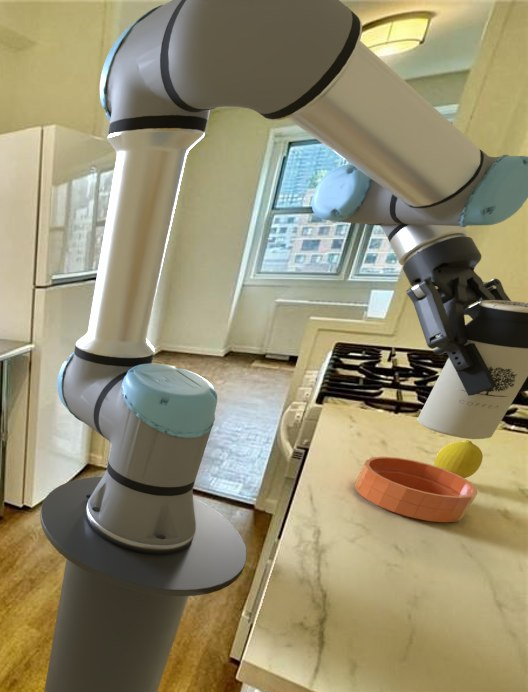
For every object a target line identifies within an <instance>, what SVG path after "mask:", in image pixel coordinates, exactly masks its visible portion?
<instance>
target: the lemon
mask: <svg viewBox="0 0 528 692" xmlns="http://www.w3.org/2000/svg"><path fill="white" fill-rule="evenodd" d="M483 456H484V455H483V451H482V450H481V448H480V447H479V446H478V445H476V444H475V443H473V441H472V440H470V439H466V440H459V441H453V442H450V443H447V444H446V445H444V446H443V447H442V448H441V449H440V450H439V451H438V452H437V454H436V456H435V458H434V462H433V466H436V467H439V468H442V469H445V470H447V471H450V472H452V473H454V474H457V475H459V476H461V477H463V478H464V479H466V478H469V477H472V476H473V475H474V474H475V473H476V472H477V471H478V470H479V468H480V467H481V466H482V462H483Z"/></svg>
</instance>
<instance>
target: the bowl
mask: <svg viewBox="0 0 528 692" xmlns="http://www.w3.org/2000/svg"><path fill="white" fill-rule="evenodd" d="M354 488H355V490H356V492H357V493H358V494H359V495H361V496H362V497H363V498H364V499H366V500H367V501H369V502H371V503H373V504H374V505H376V506H377V507H380V508H382V509H384V510H387V511H390V512H392V513H395V514H398V515H401V516H404V517H407V518H412V519H416V520H421V521H427V522H437V523H452V522H453V523H454V522H458V521H460V520H462V519H464V517H465V515H466V514H467V512H468V510H469V509H470V508H471V505H472V504H473V502H474V501H475V499H476V497H477V496H478V494H479V493H478V488H477V487H476V485H474V484H473V482H471V481H469V480H468V479H466V478H463V477H461V476H459V475H457V474H454V473H452V472H450V471H447V470H445V469H442V468H439V467H436V466H434V464H429V463H426V462H421V461H418V460H414V459H409V458H402V457H394V456H374V457H370V458H368V459H366V460H365V461H364V464H363V466H362V468H361V470H360V472H359V475H358V477H357V479H356V480H355V483H354Z"/></svg>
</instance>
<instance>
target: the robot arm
mask: <svg viewBox="0 0 528 692" xmlns="http://www.w3.org/2000/svg"><path fill="white" fill-rule="evenodd" d="M362 34H363V23H362V21H361V19H360V17H359V16H358V15H357V14H356V13H354V11H353V10H351V8H350V7H348V6H347V5H345V4H344V3H343V2H342V1H341V0H169V1H167V2H166V3H164V4H160V5H158V6H156V7H154V8H152V9H150V10H148V11H147V12H145V13H144V14H142V15H141V16H140V17H138V19H136V21H134V22H133V23H132V24H130V25H129V26H128V27H126V29H125V30H124V31H123V32H122V33H121V34H120V35H119V36H118V37H117V39H116V40H115V42H114V43H113V45H112V46H111V48H110V50H109V52H108V54H107V56H106V58H105V61H104V63H103V67H102V69H101V73H100V81H99V98H100V104H101V107H102V108H103V109H104V110H105V116H106V118H107V120H108V121H109V128H108V134H107V141H108V142H109V144H110V145H111V146H112V148H113V149H114V151H115V155H116V158H115V164H114V170H113V176H112V182H111V188H110V194H109V200H108V205H107V213H106V218H105V224H104V230H103V236H102V241H101V242H102V243H101V249H100V255H99V259H98V260H99V261H98V266H97V273H96V279H95V284H94V291H93V297H92V303H91V310H90V316H89V322H88V326H87V332H86V333H85V334H84V335H82V336H81V337H80V338H79V339H77V340H76V342H75V346H74V350H73V352H72V353H71V354H70V355H69V356H68V359H66V360H64V362H63V363H62V365H61V367H60V370H59V371H58V375H57V381H56V385H57V387H56V388H57V389H56V390H57V393H58V394H57V395H58V397H59V399H60V402H61V404H62V405H63V406H64V407H65V409H67V410H68V412H69V413H70V414H71V415H72V416H74V418H75V419H77V420H78V421H79V422H82V423H84V424H85V425H87V427H89V428H90V429H92V430H94V431H95V432H96V433H97V434H99V435H100V436H102V437H103V438H104V439H106V440H107V441H108V442H109V443H110V450H109V455H108V460H107V465H106V470H105V473H104V474H103V476H101V477H102V479H101V481H100V482H99V484H98V485H97V487H96V489H95V490H94V492H92V493H87V494H86V497H87V498H89V500H88V503H87V508H86V514H85V516H86V521H87V523H88V525H89V526H90V527H91V529H92V530H93V531H94V532H95V533H96V534H97V535H99V536H100V537H101V538H103V539H104V540H106V541H108V542H110V543H111V544H114V545H116V546H118V547H120V548H123V549H126V550H129V551H133V552H137V553H141V554H148V555H170V554H175V553H179V552H181V551H183V550H185V549H187V548H188V547H189V546H190V545H191V543H192V541H193V538H194V535H195V531H196V520H195V510H194V501H193V498H194V494H193V491H194V490H193V489H194V486H195V483H196V479H197V476H198V474H199V471H200V468H201V464H202V460H203V457H204V455H205V451H206V448H207V444H208V442H209V439H210V435H211V432H212V429H213V427H214V422H215V420H216V409H217V405H218V393H217V391H216V389H215V387H214V386H213V385H212V383H210V381H208V380H207V379H206V378H205V377H202V376H201V375H199V374H198V373H195V372H193V371H190V370H188V369H185V368H178V367H175V366H174V365H170V364H163V363H153V361H154V360H153V358H154V355H155V348H154V346H153V345H152V344H151V342H150V341H149V340H148V333H149V328H150V324H151V318H152V314H153V309H154V306H155V300H156V297H157V291H158V287H159V284H160V283H159V282H160V278H161V273H162V269H163V264H164V259H165V255H166V250H167V246H168V242H169V237H170V232H171V227H172V224H173V218H174V214H175V209H176V206H177V201H178V195H179V192H180V188H181V187H180V186H181V182H182V178H183V174H184V168H185V164H186V160H187V155H188V154H189V151H190V150H191V149H192V148H193V147H194V146H196V144H198V143H199V142H200V141H201V140H202V139H203V138H204V137H205V134H206V129H207V125H208V121H209V117H210V113H211V110H214V109H217V108H221V107H222V108H224V107H229V108H235V107H236V108H244V109H249V110H251V111H254V112H256V113H258V114H259V115H261V116H262V117H263V118H265V119H266V120H268V121H283V120H286V119H288V120H289V121H291V122H292V123H293V124H295V125H296V126H297V127H299V128H300V129H301V130H303V131H305V132H306V133H307V134H309V135H310V136H312V137H313V138H314V139H316V140H317V141H318V142H319V143H321V144H322V145H324V146H325V147H326V148H328V149H329V150H331V151H332V152H334V153H335V154H337V155H338V156H339V157H340V158H342V159H343V160H345V162H347V163H346V164H342V165H339V166H337V167H335V168H333V169H332V170H330V171H328V172H327V173H326V174H325V175H324V176H323V177H322V178H321V179H320V181H319V182H318V184H316V187H315V190H314V192H313V194H312V198H311V209H312V211H313V214H314V215H315V216H316V217H317V218H319V219H321V220H324V221H330V222H331V223H334V224H335V223H348V224H359V225H368V226H378V227H379V226H380V228H381V229H382V230H383V233H384V235H385V237H386V238H387V240H388V242H389V244H390V246H391V248H392V251H393V253H394V255H395V257H396V259H397V261H398V263H399V265H401V266H402V270H403V272H404V275H405V276H406V278H407V281H408V283H409V284H410V286H411V287H410V288H409V289H407V290H406V295H407V296H408V297H409V299H410V300H411V302H412V303H413V306H414V310H415V312H416V315H417V318H418V322H419V324H420V327H421V330H422V333H423V337H424V339H425V342H426V346H427V347H428V348H429V349H432V351H433V353H434V354H435V355H436V356H441V355H443V354H445V353H446V354H447V357H448V358H450V360H451V362H452V364H453V366H454V368H455V370H456V372H457V374H458V376H459V378H460V380H461V382H462V384H463V386H464V388H465V390H466V392H467V394H468V396H469V395H475V394H478V393H481V392H483V391H486V390H489V389H492V388H495V387H497V385H496V383H495V381H494V379H493V377H492V376H491V374H490V372H489V370H488V368H487V366H486V364H485V362H484V360H483V358H482V356H481V355H480V353H479V351H478V349H477V347H476V346H475V344H474V343H470V344H467V345H464V344H466V343H467V335H466V326H465V325H466V320H465V316H469V317H470V318H471V320H473V319H474V318H475V317H476V316H478V313H479V310H480V305H479V302H481V301H484V300H501V301H512V300H511V298H510V297H509V295H508V294H507V293H506V291H505V289H504V286H503V284H502V282H501V280H500V279H498V278H493V279H491V280H489V281H483V279H482V277H480V276H479V275H478V274H477V273H476V271H475V268H476V266H477V265H478V264H479V263H480V262H481V260H482V254H481V252H480V250H479V248H478V246H477V244H476V243H475V241H474V240H473V238H472V237H470V236H469V232H468V230H467V228H466V227H468V226H471V227H472V226H491V225H492V226H493V225H496V224H497V225H498V224H501V223H502V222H504V221H506V220H508V219H510V218H511V217H513V216H514V215H515V214H516V213H517V212H518V211H520V209H521V208H522V207H523V205H524V204H525V203H526V201H527V200H528V156H527V155H509V154H502V155H500V156H489V155H487V153H486V152H485V151H483V150H482V149H480V148H479V146H478V145H476V143H474V142H473V141H472V140H471V139H469V137H468V136H466V135H465V134H464V132H462V131H461V130H460V129H459V128H458V127H456V126H455V125H454V124H453V123H452V122H451V121H450V120H449V119H448V118H447V117H445V116H444V115H443V114H442V113H441V112H440V111H439V110H438V109H437V108H436V107H434V106H433V104H431V103H430V102H429V101H428V100H427V99H426V98H424V97H423V96H422V95H421V94H420V93H419V92H418V91H416V89H414V88H413V87H412V86H411V85H410V84H409V83H408V82H407V81H406V80H404V78H402V77H401V76H400V75H399V74H398V72H396V71H394V70H393V69H392V68H391V66H389V65H388V64H387V63H386V62H385V61H384V60H382V59H381V58H380V57H379V56H378V55H376V53H375V52H374V51H372V49H370V48H369V47H368V46H367V45H366V44H364V42H363V41H361V38H362ZM525 392H528V377H527V378H526V380H525V382H524V383H523V385H522V387H521V388H520V390H519V392H518V393H519V394H521V393H525ZM518 393H517V394H518Z"/></svg>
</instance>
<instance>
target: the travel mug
mask: <svg viewBox="0 0 528 692" xmlns="http://www.w3.org/2000/svg"><path fill="white" fill-rule="evenodd" d="M479 305H480V310H479V313H478V316H476V317H475V318H474V319H471V320H470V321H468V322H467V323H465V326H466V335H467V343H466V344H464V345H467V344H470V343H474V344H475V346H476V347H477V349H478V351H479V353H480V355H481V356H482V358H483V360H484V362H485V364H486V366H487V368H488V370H489V372H490V374H491V376H492V377H493V379H494V381H495V383H496V385H497V387H495V388H492V389H489V390H486V391H483V392H481V393H478V394H475V395H469V396H468V394H467V392H466V390H465V388H464V386H463V384H462V382H461V380H460V378H459V376H458V374H457V372H456V370H455V368H454V366H453V364H452V362H451V360H450V358H449V357H448V358H447V359H446V362H445V364H444V366H443V368H442V370H441V372H440V373H439V375H438V377H437V380H436V382H435V383H434V386H433V387H432V389H431V391H430V393H429V395H428V398H427V399H426V401H425V403H424V406H423V407H422V409H421V411H420V413H419V415H418V417H417V418H416V420H417V422H418V423H419V424H420V425H422V426H423V427H424V428H426V429H428V430H430V431H432V432H435V433H439V434H442V435H446V436H450V437H456V438H460V439H466V440H484V439H490V438H492V437H493V435H494V433H495V432H496V430H497V428H498V427H499V426H500V423H501V422H502V420H503V419H504V417H505V415H506V413H507V412H508V410H509V408H510V407H511V405H512V404H513V402H514V400H515V398H516V397H517V395H518V392H519V390H520V388H521V387H522V385H523V383H524V382H525V380H526V378H527V377H528V302H527V301H513V300H511V301H501V300H484V301H481V302H479Z"/></svg>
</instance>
